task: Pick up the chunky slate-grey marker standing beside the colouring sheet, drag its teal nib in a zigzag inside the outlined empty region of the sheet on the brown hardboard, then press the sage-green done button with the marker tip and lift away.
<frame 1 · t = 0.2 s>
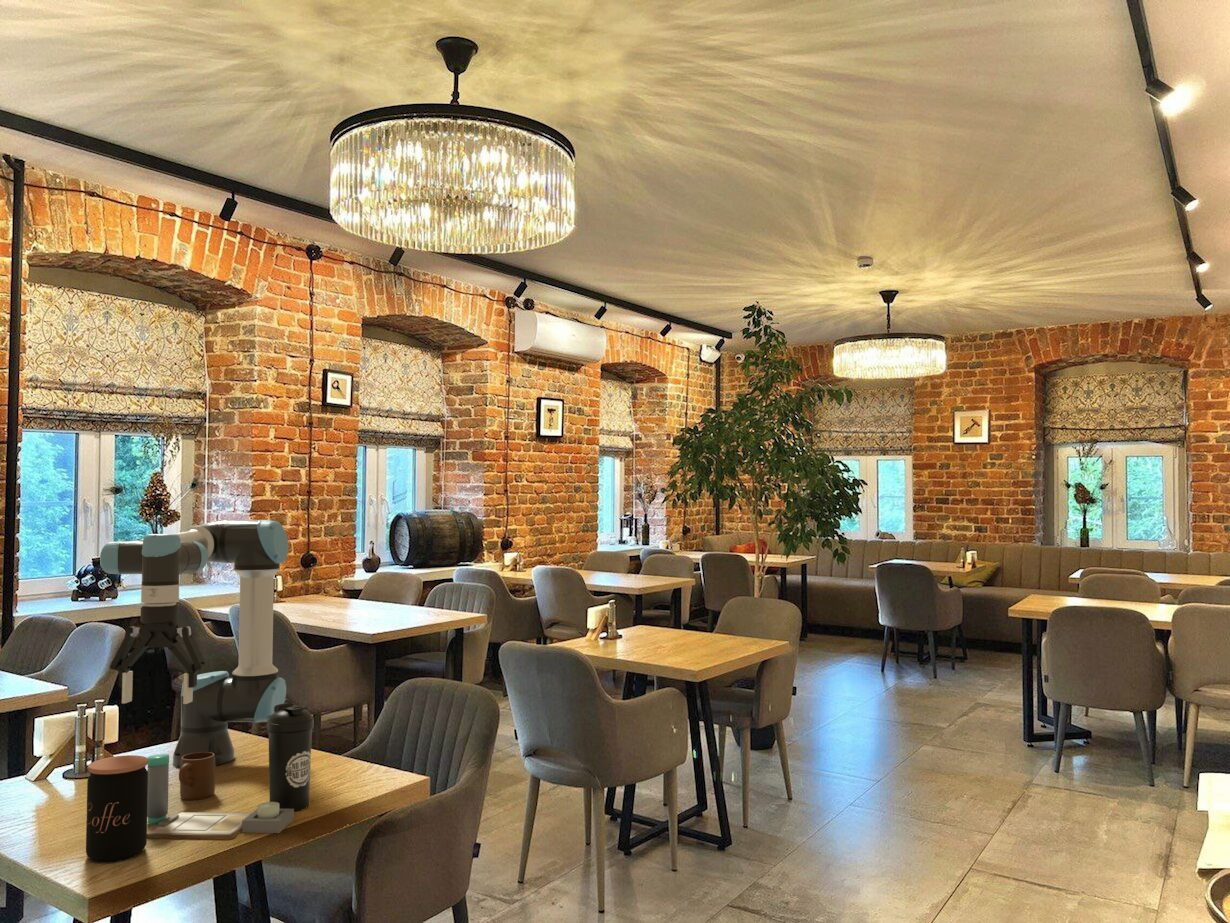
hand: (157, 702, 206), 26 cm above the table, fingers open, 13 cm apart
button housing: (268, 826, 203), on the table
coffee jar: (116, 855, 188), on the table
board: (204, 827, 203), on the table
marker: (157, 821, 207), on the table
mug: (192, 799, 223), on the table
button: (268, 812, 204), point 3 cm above the table, slide at 0.0 cm
water bottle: (289, 807, 216), on the table
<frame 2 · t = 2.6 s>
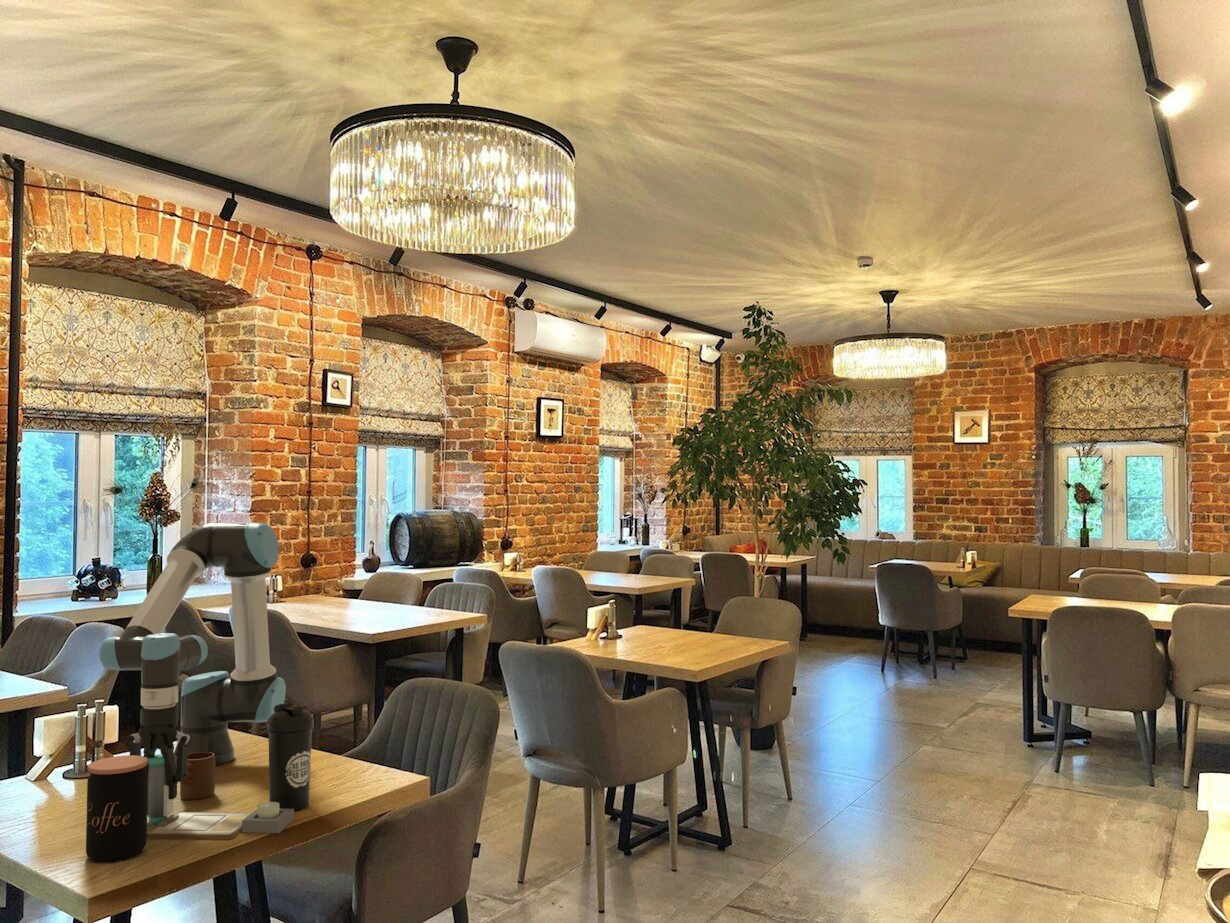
hand: (157, 813, 207), 2 cm above the table, fingers closed on marker, 4 cm apart
marker: (158, 821, 207), on the table, touching gripper
everything else where it was.
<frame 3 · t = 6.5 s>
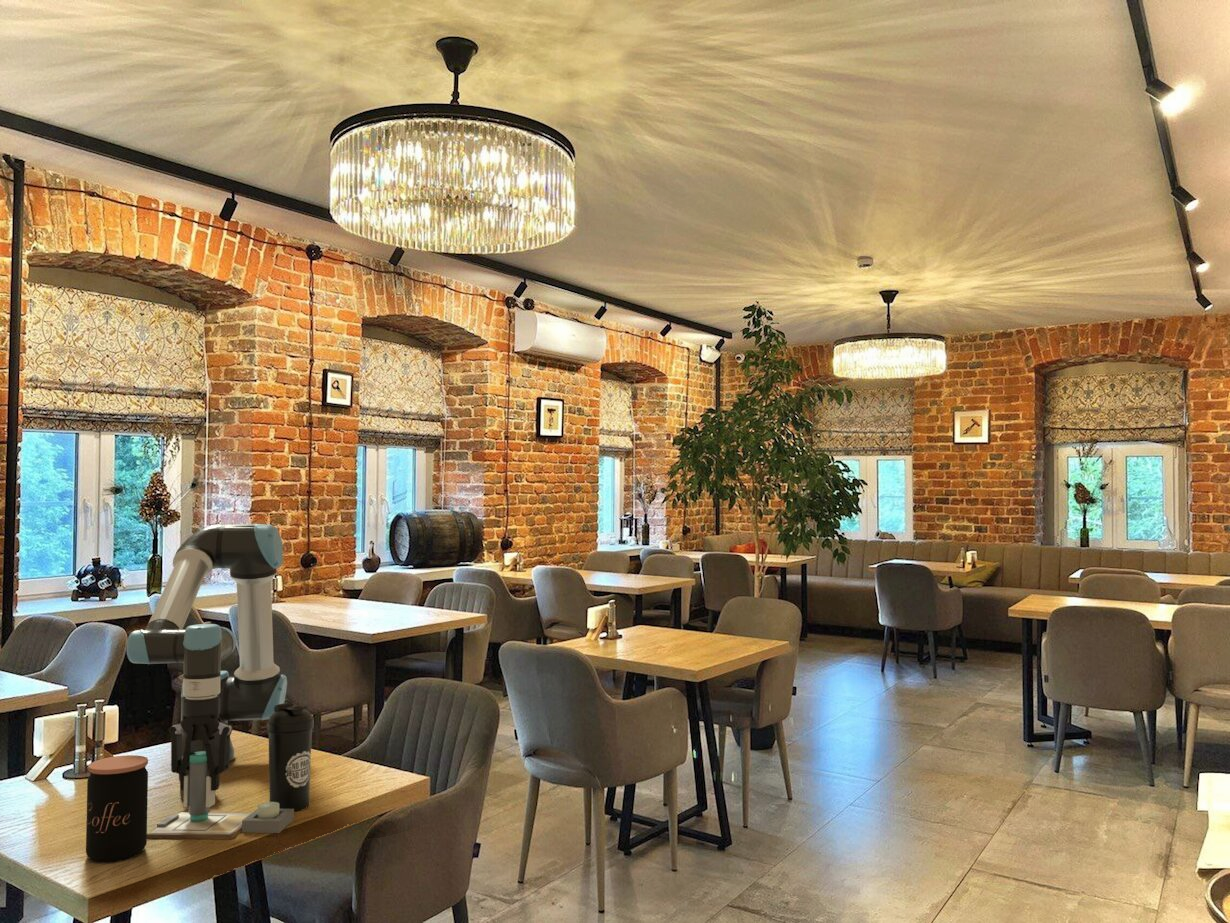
hand: (199, 805, 205), 4 cm above the table, fingers closed on marker, 4 cm apart
marker: (199, 819, 205), point 1 cm above the table, touching board, gripper
everything else where it was.
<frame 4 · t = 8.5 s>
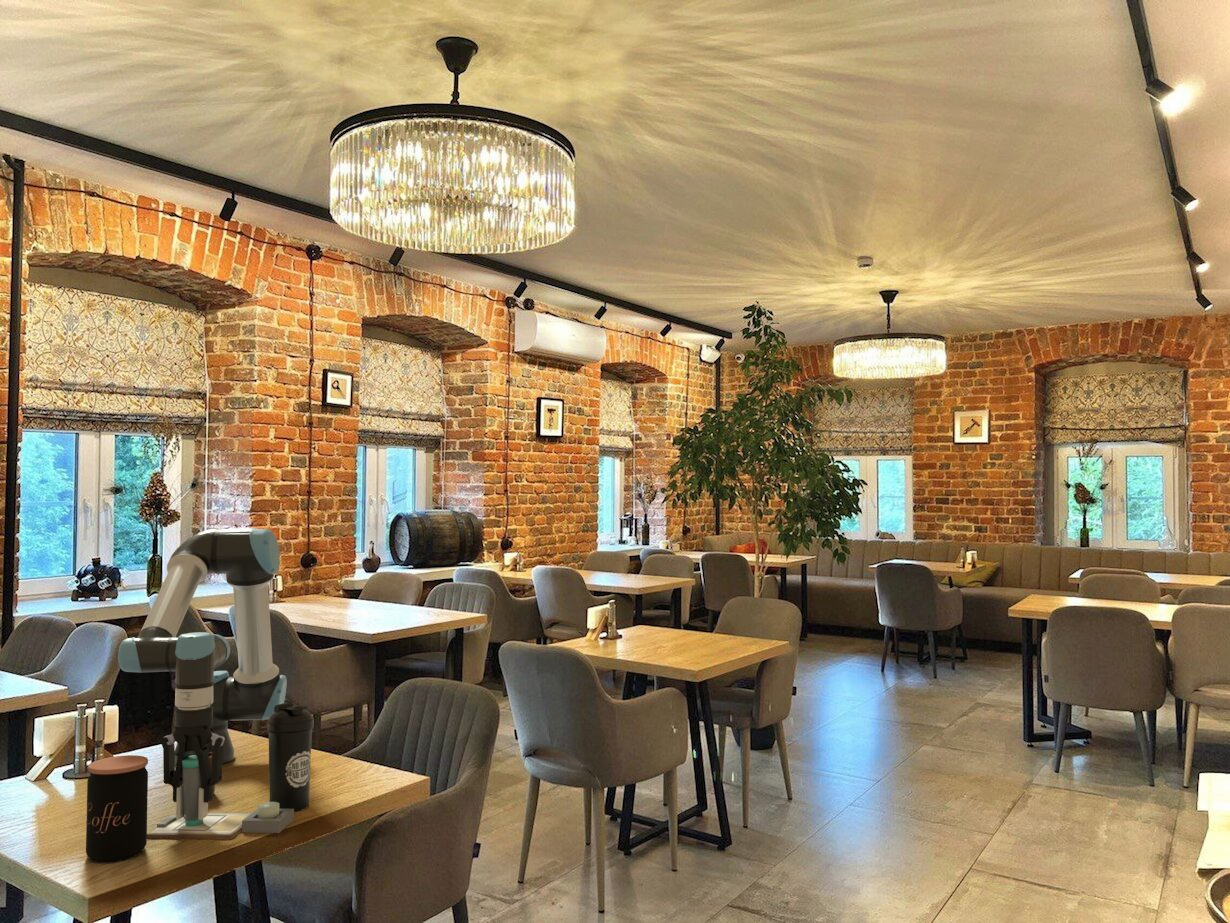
hand: (192, 817, 202), 3 cm above the table, fingers closed on marker, 4 cm apart
marker: (194, 823, 203), point 1 cm above the table, touching board, gripper
everything else where it was.
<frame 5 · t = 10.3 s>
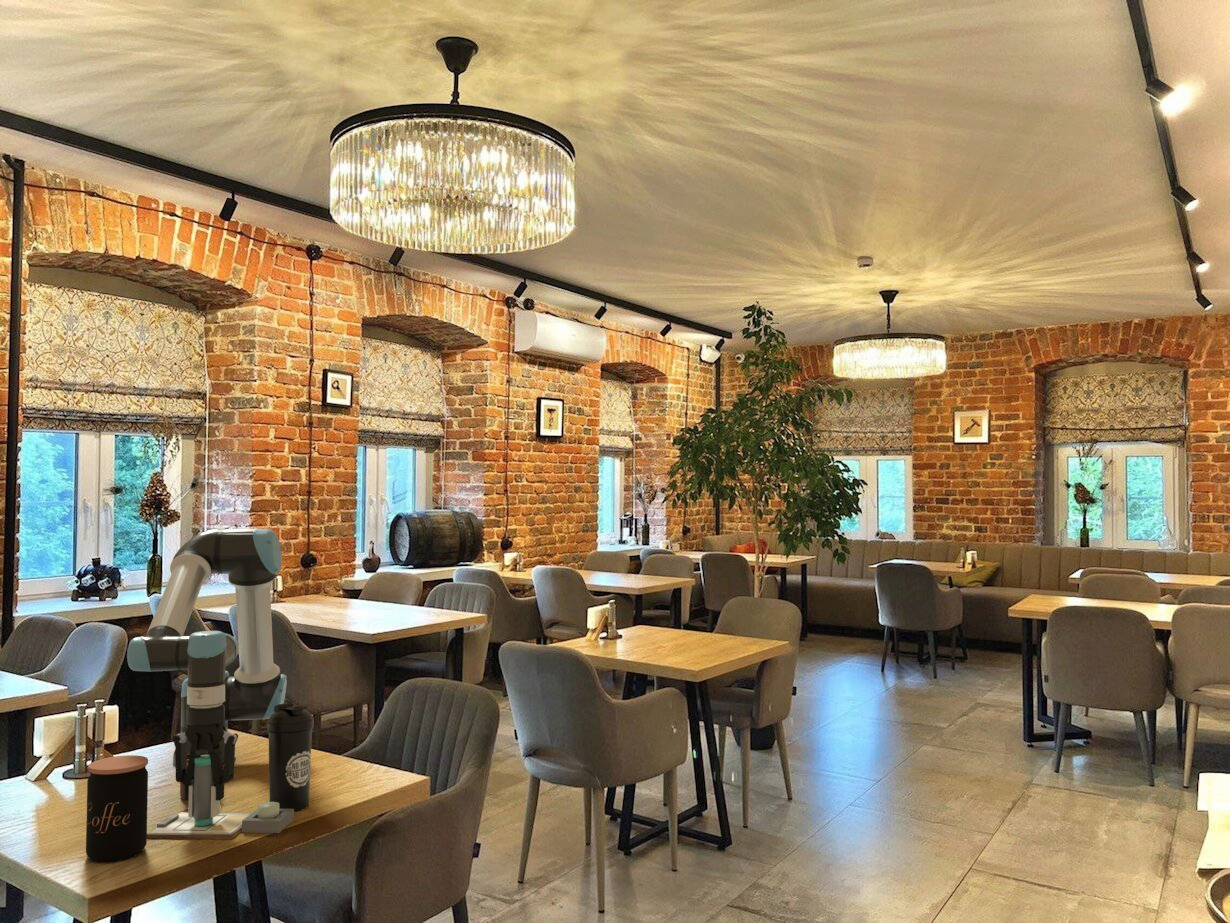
hand: (204, 815, 202), 3 cm above the table, fingers closed on marker, 4 cm apart
marker: (203, 823, 202), point 1 cm above the table, touching gripper
everything else where it was.
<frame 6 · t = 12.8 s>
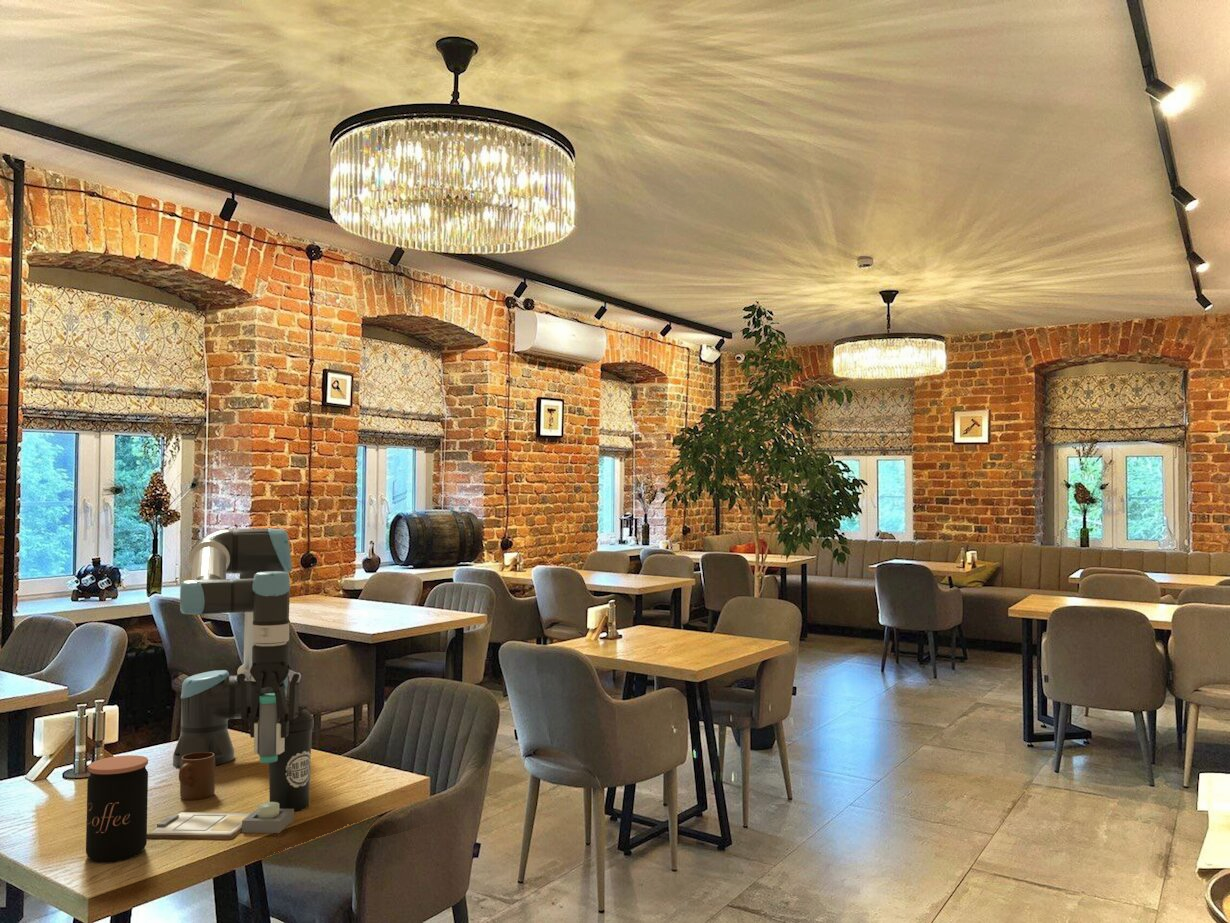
hand: (269, 752, 204), 16 cm above the table, fingers closed on marker, 4 cm apart
marker: (268, 760, 204), point 14 cm above the table, touching gripper
everything else where it was.
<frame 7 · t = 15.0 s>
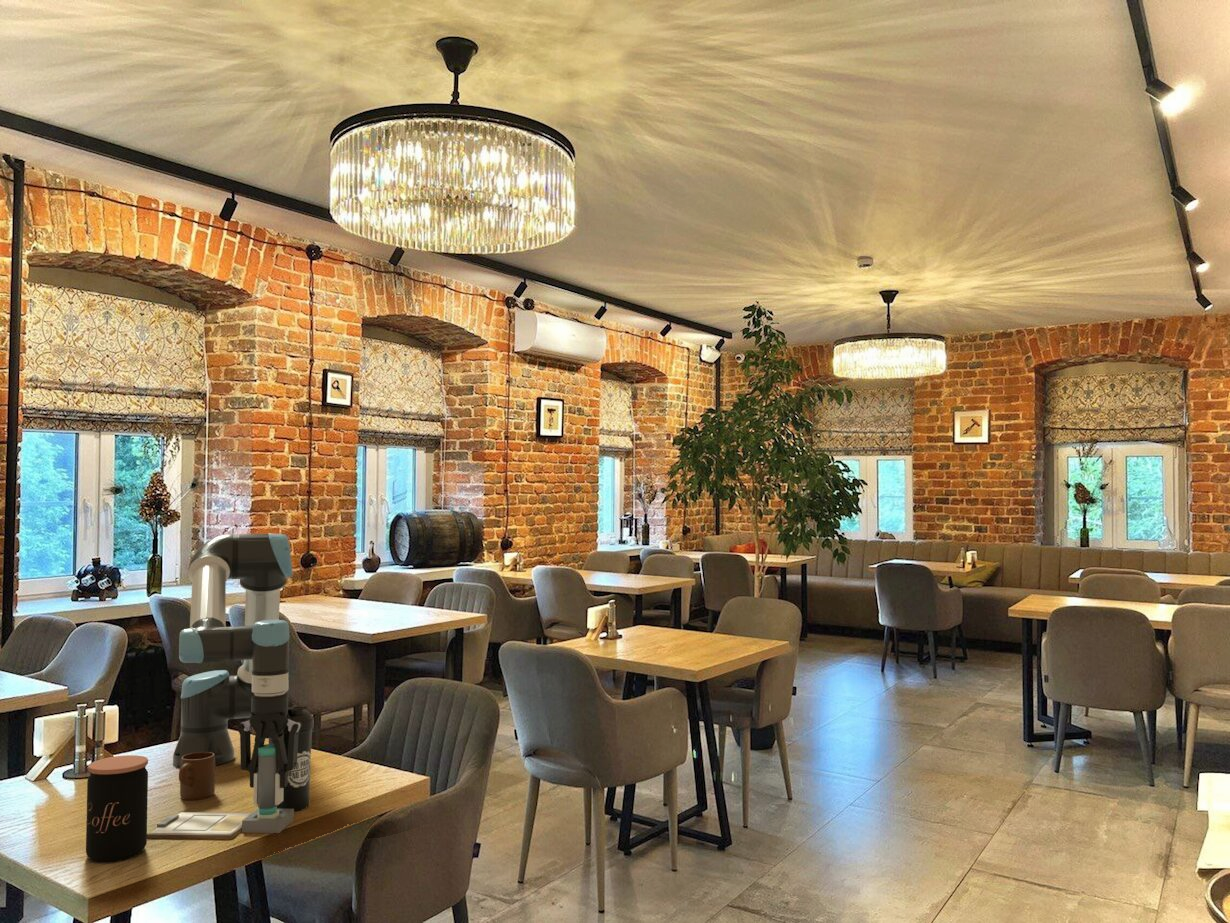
hand: (268, 802, 204), 5 cm above the table, fingers closed on marker, 4 cm apart
marker: (267, 812, 203), point 3 cm above the table, touching gripper
button: (268, 819, 204), point 1 cm above the table, slide at 1.5 cm
everything else where it was.
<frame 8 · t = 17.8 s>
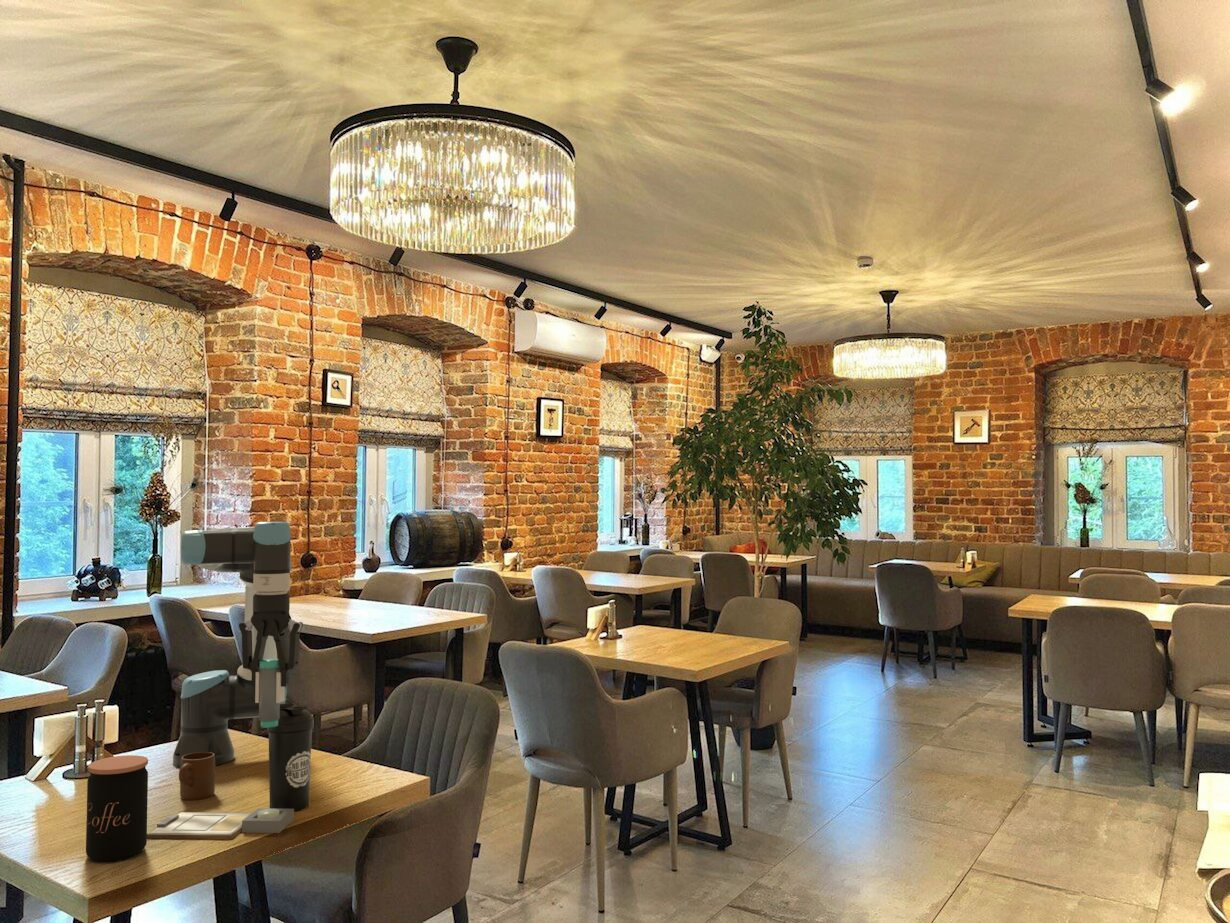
hand: (269, 701, 205), 27 cm above the table, fingers closed on marker, 4 cm apart
marker: (269, 725, 204), point 21 cm above the table, touching gripper
everything else where it was.
at the end: button slide at 1.5 cm; marker point 21.4 cm above the table; marker 0.2 cm from the button (horizontally) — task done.
